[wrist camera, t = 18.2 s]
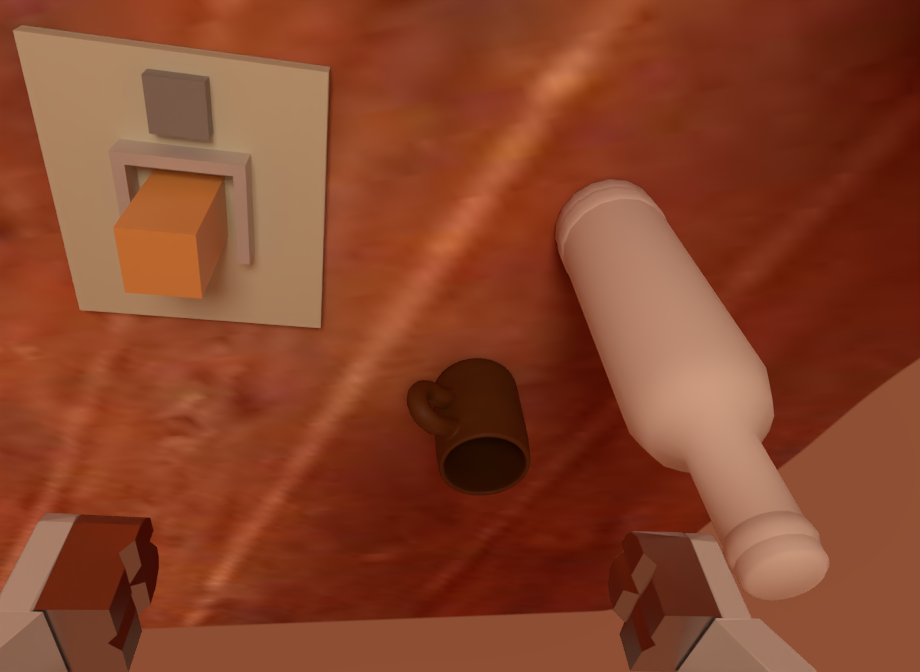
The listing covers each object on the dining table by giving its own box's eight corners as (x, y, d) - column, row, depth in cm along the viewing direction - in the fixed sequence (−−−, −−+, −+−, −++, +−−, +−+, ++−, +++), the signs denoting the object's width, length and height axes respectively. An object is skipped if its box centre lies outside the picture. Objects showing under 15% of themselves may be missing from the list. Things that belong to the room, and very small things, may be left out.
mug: (378, 363, 57) (375, 443, 50) (440, 311, 54) (447, 388, 47) (472, 428, 63) (482, 509, 56) (532, 385, 60) (551, 463, 53)
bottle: (560, 279, 53) (691, 644, 30) (545, 193, 48) (686, 545, 25) (659, 255, 52) (874, 608, 29) (653, 165, 48) (905, 500, 24)
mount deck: (22, 25, 39) (-4, 39, 37) (330, 66, 42) (325, 82, 39) (85, 301, 51) (69, 325, 48) (321, 319, 54) (318, 343, 51)
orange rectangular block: (154, 169, 44) (113, 227, 37) (224, 176, 44) (195, 235, 38) (161, 229, 46) (125, 292, 40) (228, 235, 47) (202, 298, 41)
